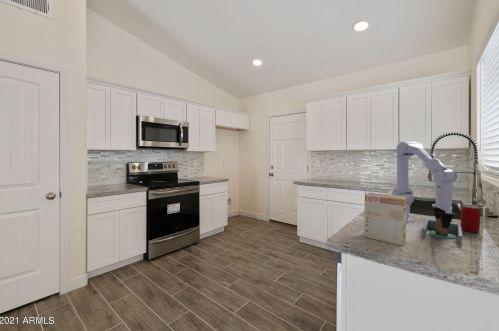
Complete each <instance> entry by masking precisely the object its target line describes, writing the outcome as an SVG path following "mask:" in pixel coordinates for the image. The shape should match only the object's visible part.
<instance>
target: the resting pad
mask: <svg viewBox="0 0 499 331" xmlns="http://www.w3.org/2000/svg"><path fill="white" fill-rule="evenodd" d="M435 231H436V230H435ZM435 231H434V230H433V231H430V232H429V235H431V236H433V237H435V238H440V239H445V240H454V239H455V238H456V236H455V235H454V234H452V233H448V236H440V235H437V234H435Z"/></svg>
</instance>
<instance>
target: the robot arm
mask: <svg viewBox="0 0 499 331" xmlns="http://www.w3.org/2000/svg"><path fill="white" fill-rule="evenodd" d="M414 156H416V157H418V158H419V159H420V160H421V161H423V162H424V166H425V168H426V169H427V170H428V171H429V172H430V173H431V174H432V177H433V180H434V183H435V186H436V187H435V188H436V190H435V204H434V203H433V204H431V206H432V207H431V209H432V210H433V213H434V217H435V219H436V218H441V225H442V228H449V226H450V223H452V221H453V219H454V218H455V217H456V213H454V212H453V206H452V203H453V188H454V186H453V185H454V182H456V181H457V179H458V175H457V173H456V171H455V170H454V169H450V168H448V167H447V166H446V165H445V164H443V163H442V161H441V160H440V159H439V158H433V157H432V156H431V155H430V154H429V153H428V152H427V150H426V149H425V148H424V145H423V144H421V142H420V141H400V142H399V143H397V145H396V187H395V188H393V189H392V190H391V195H395V196H405V197H407V219H406V223H410V222H411V220H412V217H410V213H411V212H410V211H411V210H410V209H411V208H410V207H411V206H412V203H413V202H414V201H415V196H414V193H413V189H411V188H410V186H409V180H410V179H409V159H410V158H412V157H414Z"/></svg>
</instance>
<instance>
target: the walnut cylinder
mask: <svg viewBox="0 0 499 331" xmlns="http://www.w3.org/2000/svg"><path fill="white" fill-rule="evenodd" d="M435 221H436V229H435V234H437V235H440V236H448V234H449V231H448V228H442V225H441V218H435Z"/></svg>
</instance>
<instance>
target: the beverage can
mask: <svg viewBox="0 0 499 331" xmlns="http://www.w3.org/2000/svg"><path fill="white" fill-rule="evenodd" d="M481 211H482V210H481V209H480V207H479V206H476V205H469V204H467V205H465V204H463V207H461V211H460V225H461V230H462V231H464V232H468V233H475V234H476V233H478V232H480V227H481V213H482V212H481Z"/></svg>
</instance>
